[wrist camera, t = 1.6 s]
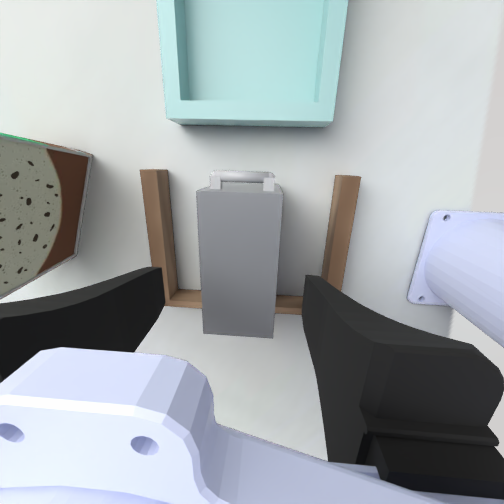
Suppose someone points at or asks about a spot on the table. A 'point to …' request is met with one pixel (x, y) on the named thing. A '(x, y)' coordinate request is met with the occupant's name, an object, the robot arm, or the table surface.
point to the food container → (39, 208)
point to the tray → (251, 61)
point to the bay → (332, 272)
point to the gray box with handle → (239, 252)
